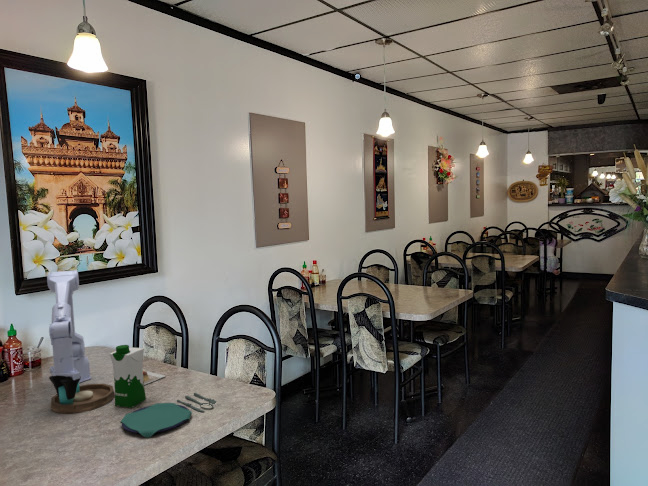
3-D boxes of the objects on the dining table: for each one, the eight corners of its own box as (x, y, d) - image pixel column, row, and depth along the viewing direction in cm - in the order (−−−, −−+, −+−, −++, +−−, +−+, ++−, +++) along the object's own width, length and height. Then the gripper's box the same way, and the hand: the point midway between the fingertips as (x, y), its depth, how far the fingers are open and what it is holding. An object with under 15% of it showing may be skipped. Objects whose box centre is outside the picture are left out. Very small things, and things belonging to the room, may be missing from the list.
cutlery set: (109, 425, 145) (109, 418, 144) (193, 395, 167) (193, 388, 167) (143, 445, 132) (143, 437, 132) (229, 409, 155) (229, 403, 154)
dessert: (140, 389, 174) (139, 376, 174) (119, 383, 181) (118, 371, 180) (166, 378, 185) (165, 366, 184) (145, 373, 191) (145, 362, 190)
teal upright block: (81, 394, 167) (80, 378, 166) (69, 398, 164) (68, 381, 163) (77, 392, 169) (75, 375, 169) (65, 395, 166) (63, 379, 166)
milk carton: (110, 406, 158) (106, 347, 157) (129, 396, 167) (126, 340, 165) (131, 409, 155) (127, 349, 154) (150, 398, 164) (146, 341, 162)
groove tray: (93, 386, 177) (92, 380, 177) (126, 396, 167) (126, 389, 166) (38, 406, 160) (38, 399, 160) (72, 418, 150) (71, 410, 150)
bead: (74, 401, 161) (73, 384, 160) (72, 405, 157) (70, 388, 157) (61, 403, 160) (59, 385, 159) (58, 407, 156) (57, 390, 155)
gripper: (39, 357, 158) (42, 397, 159) (63, 363, 150) (66, 405, 151) (60, 351, 164) (63, 389, 165) (84, 357, 156) (87, 397, 157)
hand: (66, 396), depth 158 cm, fingers open, 5 cm apart
